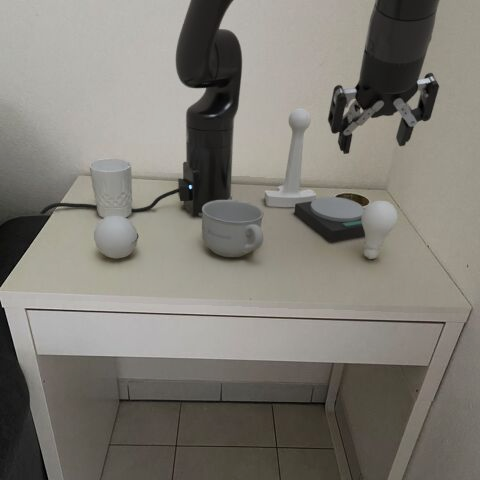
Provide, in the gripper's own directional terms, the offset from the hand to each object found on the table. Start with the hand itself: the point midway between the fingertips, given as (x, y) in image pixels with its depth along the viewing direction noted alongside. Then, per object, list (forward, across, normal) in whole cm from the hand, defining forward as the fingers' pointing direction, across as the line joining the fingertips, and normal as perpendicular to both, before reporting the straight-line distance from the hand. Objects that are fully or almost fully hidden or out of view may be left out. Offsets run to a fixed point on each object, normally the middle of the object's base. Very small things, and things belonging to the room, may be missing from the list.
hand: (372, 146), depth 75 cm
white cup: (+23, +45, -15) cm, 53 cm away
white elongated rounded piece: (+16, +42, +1) cm, 46 cm away
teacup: (+19, +22, +2) cm, 30 cm away
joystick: (+32, +8, -20) cm, 38 cm away
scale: (+28, 0, -8) cm, 29 cm away
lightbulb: (+22, -2, +6) cm, 23 cm away
